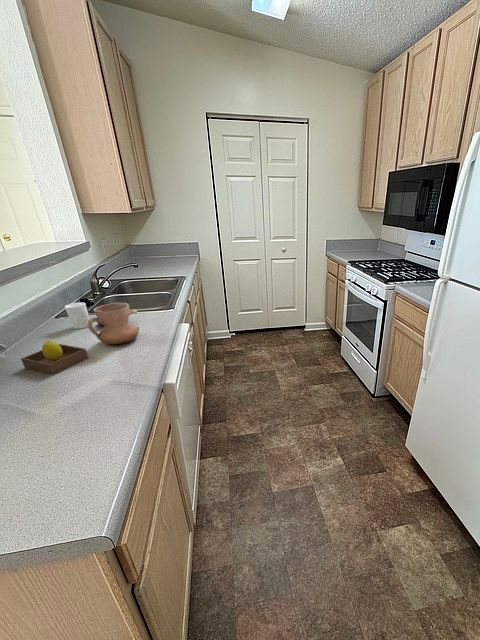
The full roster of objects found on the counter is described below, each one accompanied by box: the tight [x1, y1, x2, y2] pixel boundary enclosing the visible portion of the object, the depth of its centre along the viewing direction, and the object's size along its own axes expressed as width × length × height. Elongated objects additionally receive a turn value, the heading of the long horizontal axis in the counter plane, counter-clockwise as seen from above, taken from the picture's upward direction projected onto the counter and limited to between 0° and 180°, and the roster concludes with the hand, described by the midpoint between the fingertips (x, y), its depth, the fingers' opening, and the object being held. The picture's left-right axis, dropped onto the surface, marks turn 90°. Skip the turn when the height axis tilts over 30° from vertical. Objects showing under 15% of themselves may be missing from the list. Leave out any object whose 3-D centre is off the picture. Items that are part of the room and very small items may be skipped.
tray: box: [20, 343, 89, 376], centre depth 117 cm, size 14×13×4 cm
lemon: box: [41, 340, 63, 361], centre depth 115 cm, size 6×6×8 cm
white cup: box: [64, 301, 90, 330], centre depth 148 cm, size 8×8×10 cm
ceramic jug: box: [87, 302, 140, 345], centre depth 131 cm, size 18×14×14 cm
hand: (5, 354), depth 108 cm, fingers open, 8 cm apart
